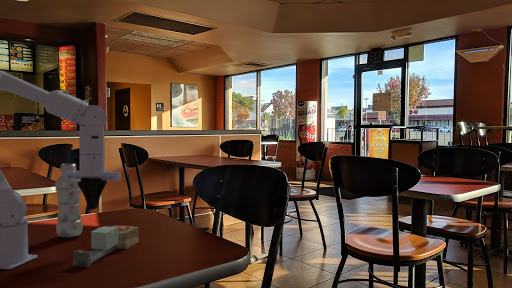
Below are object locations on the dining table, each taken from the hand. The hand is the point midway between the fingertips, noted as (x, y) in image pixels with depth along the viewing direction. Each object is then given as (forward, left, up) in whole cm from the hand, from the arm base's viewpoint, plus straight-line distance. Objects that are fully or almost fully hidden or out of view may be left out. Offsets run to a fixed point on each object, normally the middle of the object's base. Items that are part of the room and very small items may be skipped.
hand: (92, 208), depth 95 cm
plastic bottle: (-12, +7, -10) cm, 17 cm away
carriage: (+5, -3, -8) cm, 10 cm away
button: (+5, +4, -9) cm, 11 cm away
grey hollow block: (+5, +4, -10) cm, 12 cm away
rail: (+5, -6, -10) cm, 12 cm away
